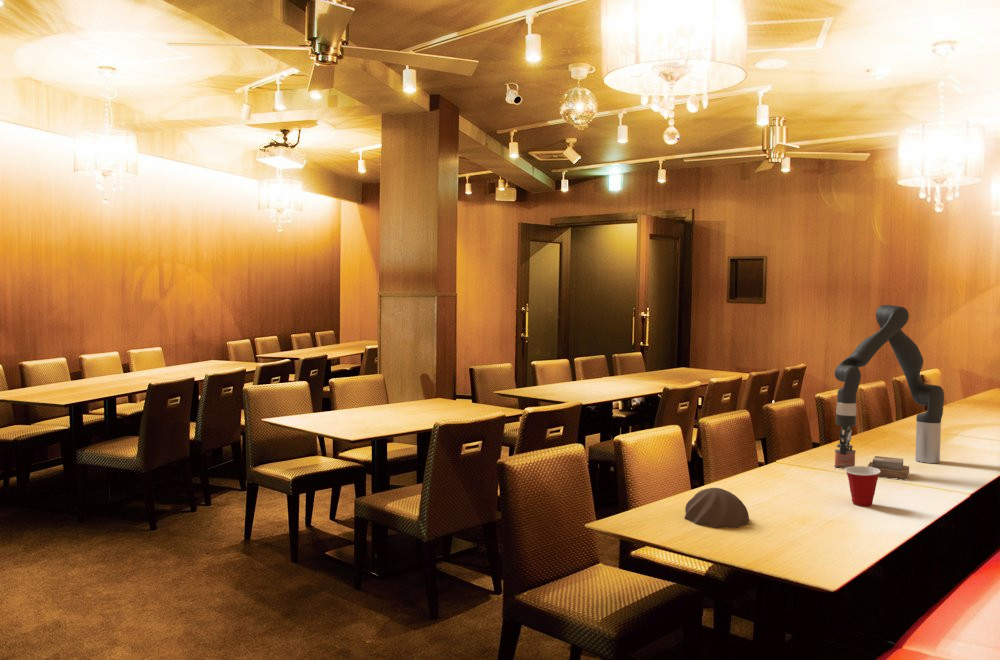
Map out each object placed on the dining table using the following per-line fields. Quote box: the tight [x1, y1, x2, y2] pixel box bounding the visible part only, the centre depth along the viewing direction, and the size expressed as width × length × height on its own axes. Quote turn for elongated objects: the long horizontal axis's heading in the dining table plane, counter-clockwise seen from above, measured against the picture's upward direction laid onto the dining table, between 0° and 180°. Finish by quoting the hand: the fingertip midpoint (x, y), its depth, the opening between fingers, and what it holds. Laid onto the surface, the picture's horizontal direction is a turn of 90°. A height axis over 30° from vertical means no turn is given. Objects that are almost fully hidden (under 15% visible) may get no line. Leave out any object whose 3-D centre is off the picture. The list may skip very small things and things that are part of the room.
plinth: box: [866, 455, 910, 480], centre depth 295 cm, size 14×14×6 cm
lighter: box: [833, 443, 856, 469], centre depth 306 cm, size 8×3×10 cm, turn 84°
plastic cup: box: [844, 465, 881, 507], centre depth 249 cm, size 11×11×12 cm
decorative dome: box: [683, 487, 750, 529], centre depth 230 cm, size 19×20×10 cm
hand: (844, 452), depth 305 cm, fingers open, 8 cm apart
